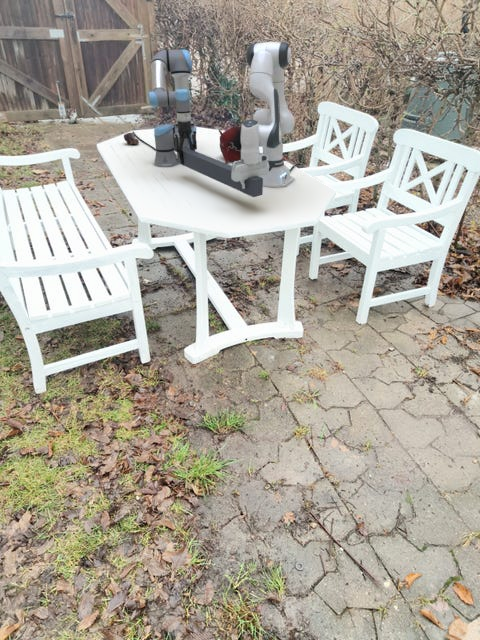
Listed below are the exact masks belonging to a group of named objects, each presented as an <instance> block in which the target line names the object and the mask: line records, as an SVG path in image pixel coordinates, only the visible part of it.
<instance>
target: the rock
mask: <svg viewBox="0 0 480 640" xmlns="http://www.w3.org/2000/svg"><path fill="white" fill-rule="evenodd" d="M134 133H135V132H134ZM134 133H133V132H127V133H125V134H123V139H124V141H125V142H126V143H127V144H128V145H139V144H140V140H139V139H138V138H137V137H136V136H135V135H134Z"/></svg>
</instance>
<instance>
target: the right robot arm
mask: <svg viewBox="0 0 480 640" xmlns="http://www.w3.org/2000/svg"><path fill="white" fill-rule="evenodd" d="M245 60H246V63H247V65H248V66H249V75H248V88H249V91H250V93H251V94H252V95H253V96H254V97H256V98H257V99H258V100H259V99H260V100H261V101H263V102H265V103H266V104H267V105H268V108H259V109H257V110H256V111H255V112H254V115H253V119H246V120H244V121H243V122H242V123H241V126H240V127H241V146H242V147H241V160H239V161H233V163H231V166H232V173H231V179H232V180H233V181H235V182H238V181H240V182H241V184H242V188H243V189H245V188H247V185H245V184H244V182H245V180H246V179H248V178H250V177H254V176H259V177H261V178H263V187H266V188H278V187H280V188H281V187H282V188H283V187H284V188H285V187H287V186H288V185H290V184H291V183H292V182H293V181H294V179H295V178H294V177H293V176H291V171H292V170H293V169H294V168H295V167H296V166H298V167H299V166H301V164H300V163H295V164H294V165H293V166H291V168H290V169H289V167H287V165H285V162H286V161H287V160H288V159H287V157H284V156H283V153H284V143H283V141H282V140H283V135H286V134H290V133H292V131H294V129H295V125H296V119H295V116H294V115H293V114H292V113H291V111H290V109H289V107H288V105H287V101H286V95H285V68H286V67H288V66H289V65H290V63H291V61H292V47H291V45H290V43H288V42H286V41H280V42H279V41H267V42H266V41H265V42H258V43H257V42H253V43H250V44H249V45H248V46H247V48H246V52H245ZM260 148H262V152H260V151H261V150H260Z"/></svg>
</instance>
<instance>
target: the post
mask: <svg viewBox="0 0 480 640" xmlns="http://www.w3.org/2000/svg"><path fill="white" fill-rule="evenodd" d="M182 153H183V159H184V165H182V164H181V163H180V159H179V154H178V152H176V155H177V156H176V157H177V160H178V164H179V165H182V166H183V167H187V169H190V170H193V171H195V172H197V173H199V174H201V175H203V176H206V177H209V178H210V179H212V180H214V181H217V182H219V183H221V184H223V185H225V186H227V187H229V188H232V189H234V190H235V191H239V192H241V193H242V194H245V195H246V196H250V197H252V198H257V197H260V196H263V195H264V193H263V192H264V191H263V190H264V189H263V188H264V186H263V178H261V177H259V176H254V177H250V178H248V179H246V180H245V182H244V184H245V185H247V188H245V189H243V188H242V184H241V182H240V181H238V182H235V181H233V180H232V179H231V173H232V164H229V163H227V164H226V162H224V161H221V160H218V159H216V158H214V157H210V156H208V155H206V154H204V153H201V152H200V151H199V152H198V151H197V150H195V151H194V150H191V149H189V148H186V147H183V148H182Z"/></svg>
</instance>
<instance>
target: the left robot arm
mask: <svg viewBox="0 0 480 640" xmlns="http://www.w3.org/2000/svg"><path fill="white" fill-rule="evenodd" d="M149 68H150V73H151V82H152V88H151V89H152V91H149V92H148V101H149V106H150V107H156V108H159V107H175V109H176V121H177V120H178V121H177V123H176V127H173V125H172V124H168V123H166V124H161V125H158V126H156V127H155V128H154V129H153V133H154V134H153V136H154V142H155V143H154V145H155V147H154V146H153V145H151V144H150V143H148V142H146V141H144V140H143V139H141V138H140V137H139V136H138V135H137V134H136V133H135V132H134V131H133V130H132V133H134V135H135V138H136V139H138V141H141V143H144V144H145V145H147V146H148V147H150V148H152V149H153V150H154V151H155V155H154V165H155V166H157V167H163V168H164V167H165V168H167V167H168V168H169V167H174V166H177V165H178V164H179V163H178V160H177V152H178V154H179V159H180V163H181V164H182V166H184V159H183V153H182V148H183V146H190V149H191V150H194V151H196V150H197V149H198V145H197V126H195V123H194V122H193V121H192V113H191V98H190V82H189V81H190V80H189V79H190V76H191V73H192V72H193V62H192V57H191V54H190V51H189V50H188V49H162V50H160V51H157V52H156V53H155V54H154V55H153V57H152V58H151V60H150V63H149ZM166 73H171V77H172V78H173V79H174V90H172V91H169V90H167V86H166V85H167V84H166V82H167V81H166ZM174 147H175V150H174ZM181 164H180V165H181Z"/></svg>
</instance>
